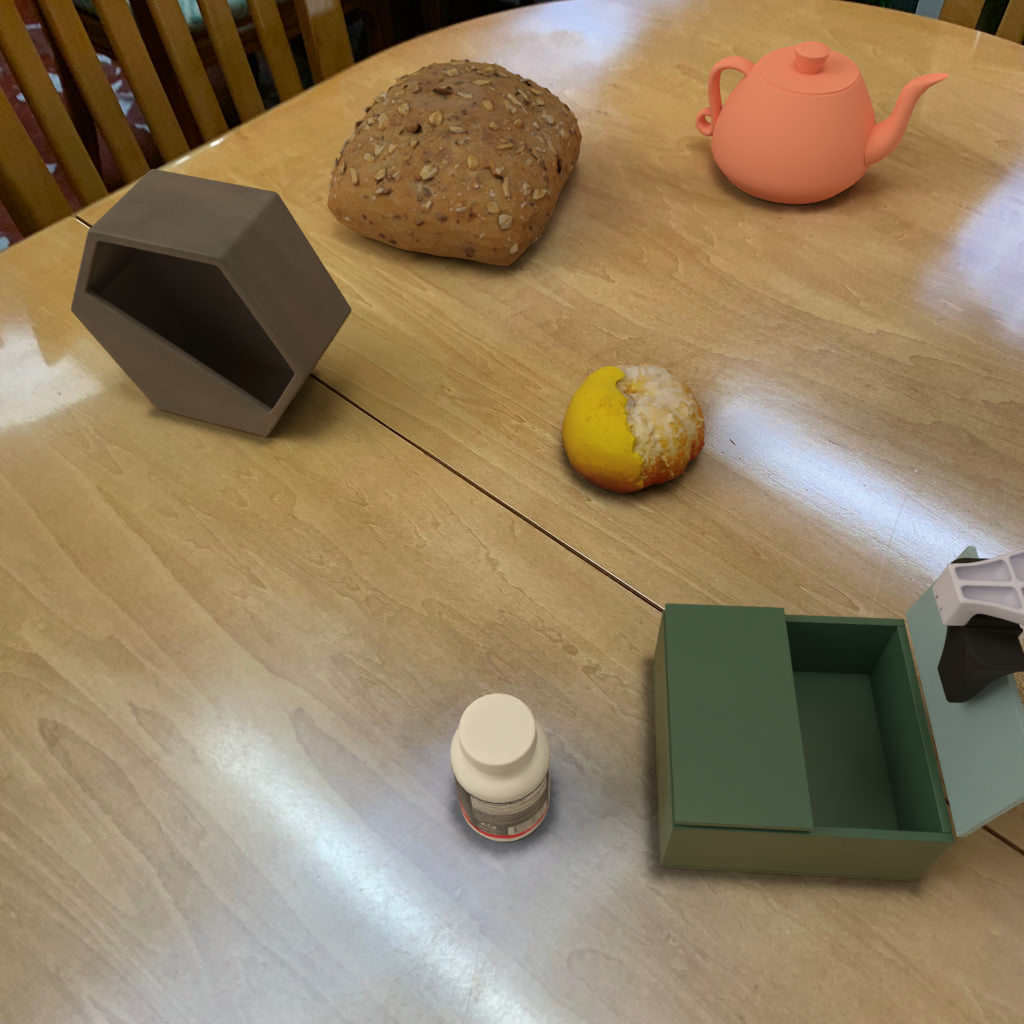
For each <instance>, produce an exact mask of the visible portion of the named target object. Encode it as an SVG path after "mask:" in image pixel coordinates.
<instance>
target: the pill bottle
mask: <svg viewBox="0 0 1024 1024" xmlns="http://www.w3.org/2000/svg"><path fill="white" fill-rule="evenodd" d="M449 756H450V766H451V770H452V773H453V778H454V782H455V788H456V792H457V798H458V803H459V807H460V810H461V813H462V816H463V818H464V819H465V822H467V824H468V826H469V827H470V828H471V829H472V830H473V831H474V832H475V833H477V834H478V835H480V836H482V837H483V838H486V839H488V840H490V841H494V842H504V843H505V842H513V841H518V840H520V839H523V838H525V837H527V836H529V835H530V834H532V833H533V832H534V831H535V830H536V829H538V827H539V826H540V825H541V824H542V822H543V821H544V819H545V818H546V815H547V812H548V810H549V806H550V799H551V798H550V796H551V746H550V741H549V738H548V735H547V732H546V731H545V728H544V727H543V725H542V724H541V723H540V721H539V720H538V719H537V718H536V717H535V716H534V714H533V712H532V711H531V709H530V708H529V707H528V705H527V704H526V703H524V701H522V700H521V699H520V698H518V697H515V696H513V695H510V694H507V693H501V692H500V693H499V692H498V693H490V694H485V695H483V696H480V697H479V698H477V699H474V701H472V702H471V703H469V705H468V706H467V707H466V708H465V710H464V712H463V713H462V715H461V718H460V720H459V724H458V727H457V729H456V730H455V732H454V734H453V737H452V740H451V743H450V755H449Z"/></svg>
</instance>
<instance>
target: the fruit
mask: <svg viewBox="0 0 1024 1024" xmlns="http://www.w3.org/2000/svg"><path fill="white" fill-rule="evenodd" d="M705 421H706V419H705V417H704V414H703V411H702V408H701V406H700V404H699V396H697V397H695V393H694V391H693V389H692V388H691V387H690V386H689V385H688V384H687V383H686V382H685V381H684V380H683V379H681V378H679V377H678V376H677V375H674V374H673V372H672V371H671V370H670V369H669V368H666V367H663V366H659V365H658V364H657V363H655V362H643V363H641V364H639V365H638V366H637V365H632V364H622V363H621V364H618V365H616V366H614V365H606V366H602V367H601V368H598V369H596V370H594V371H593V372H592V373H591V374H589V375H588V376H587V377H586V379H585V380H584V381H583V382H582V383H581V384H580V386H579V387H578V389H576V390H575V392H574V393H573V395H572V397H571V399H570V401H569V403H568V406H567V408H566V411H565V413H564V417H563V421H562V425H561V426H562V427H561V442H562V445H563V448H564V451H565V454H566V456H567V460H568V461H569V464H570V465H571V467H572V468H573V469H574V470H575V471H576V472H577V473H578V474H579V475H580V476H581V477H582V478H583V480H585V481H586V482H589V483H590V485H593V486H595V487H598V488H600V489H602V490H605V491H611V492H614V493H615V492H616V493H617V494H619V495H621V494H623V495H625V494H627V493H633V492H637V491H639V490H642V489H644V488H647V487H649V486H651V485H661V484H663V483H664V482H667V481H671V480H673V479H676V478H678V477H679V476H680V475H685V472H684V471H685V470H686V468H687V466H688V464H689V462H691V461H693V460H694V459H696V458H697V457H698V456H699V455H700V454H701V452H702V450H703V447H704V446H706V443H705V439H706V438H705V437H706V425H705V424H706V423H705Z"/></svg>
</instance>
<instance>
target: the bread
mask: <svg viewBox="0 0 1024 1024" xmlns="http://www.w3.org/2000/svg"><path fill="white" fill-rule="evenodd" d="M394 80H395V83H394V84H391V86H390V87H388V89H387V91H385V92H384V91H380V92H379V95H378V96H377V95H376V96H374V97H373V102H372V103H370V104H368V105H367V106H365V107H364V108H363V109H362V111H364V113H365V114H364V116H363V117H362V118H361V119H359V120H357V121H355V124H354V129H352V131H351V133H350V134H349V136H348V137H347V138H346V140H345V141H344V142H343V144H342V146H341V147H340V150H339V154H340V156H339V158H338V157H335V156H334V157H333V160H332V166H331V171H330V173H329V176H330V177H331V179H330V181H329V183H328V185H327V187H328V195H327V204H326V206H327V208H328V209H329V211H330V212H331V214H332V215H333V216H334V217H335V219H336V220H337V221H338V223H340V224H342V225H343V226H344V227H345V228H346V229H348V230H350V231H352V232H355V233H357V234H359V235H361V236H364V237H366V238H369V239H372V240H375V241H378V242H380V243H383V244H386V245H388V246H391V247H394V248H398V249H401V250H405V251H409V252H417V253H421V254H422V253H423V254H426V255H432V256H437V257H448V258H454V259H455V258H456V259H464V260H469V261H475V262H479V263H483V264H484V263H485V264H487V265H496V266H505V267H508V266H510V265H512V264H513V263H514V262H515V261H517V259H518V258H520V256H522V254H523V253H524V252H525V251H526V250H527V248H529V246H530V245H531V244H532V243H536V242H537V241H538V240H537V239H539V238H541V237H542V235H541V234H542V232H543V231H544V229H545V227H546V225H547V223H549V221H550V219H551V216H552V214H553V213H554V209H555V207H556V205H557V202H558V199H559V196H560V193H561V191H562V190H563V188H564V187H565V185H566V183H567V181H568V179H569V178H570V176H571V174H572V172H573V170H574V168H575V165H576V163H577V161H578V159H579V156H580V154H581V147H582V146H581V145H582V139H583V136H582V132H581V130H580V126H579V124H578V121H579V118H577V117H576V115H575V113H574V112H573V110H571V109H570V107H569V106H568V104H567V103H565V102H563V101H561V100H560V97H559V96H558V95H555V94H554V93H552V92H551V90H549V88H548V87H545V86H541V85H540V84H538V83H537V82H536V81H534V80H533V79H531V78H527V77H526V78H524V77H522V75H521V74H519V73H517V74H515V73H514V72H511V71H509V70H507V68H506V67H505V66H503V65H500V64H499V63H496V62H494V63H490V62H486V61H483V62H477V61H471V60H470V59H468V58H463V59H453V58H450V61H448V62H442V63H441V62H440V63H439V62H438V63H437V62H432V63H430V64H428V65H427V66H425V65H424V66H422V67H421V68H419V69H418V70H416V71H413V72H412V73H409V74H408V73H404V74H403V75H400V76H398V77H396V78H394Z"/></svg>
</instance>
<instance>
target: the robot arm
mask: <svg viewBox="0 0 1024 1024" xmlns="http://www.w3.org/2000/svg"><path fill="white" fill-rule="evenodd" d="M955 559H956V558H955ZM955 559H954V560H952V561H951V562H949V563H947V564H946V567H945V568H944V570H943V571H942V572H941V574H940V575H939V576H940V577H939V576H938V577H937V578H936V580H937V581H936V580H935V581H936V582H935V581H934V582H935V584H934V585H933V587H932V590H933V593H934V596H935V601H936V604H937V607H938V610H939V613H940V616H941V619H942V622H943V624H944V625H947V633H946V639H945V644H944V648H943V652H942V655H941V658H940V661H939V664H938V667H937V670H938V673H939V677H940V680H941V683H942V687H943V690H944V694H945V697H946V700H947V701H948V702H949V703H963V702H966V701H968V700H970V699H972V698H973V697H974V696H976V695H977V694H978V693H979V692H980V691H981V690H983V689H984V688H985V687H986V686H987V685H989V684H990V683H991V682H993V681H995V680H997V679H999V678H1001V677H1003V676H1006V675H1009V674H1016V673H1024V650H1023V649H1024V648H1023V647H1022V643H1021V641H1020V636H1021V635H1022V634H1023V633H1024V629H1023V628H1022V627H1021V626H1024V548H1020V549H1017V550H1013V551H1010V552H1007V553H1004V554H1001V555H998V556H995V557H991V558H989V557H986V558H985V557H984V558H983V557H979V558H958V559H956V560H955Z"/></svg>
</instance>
